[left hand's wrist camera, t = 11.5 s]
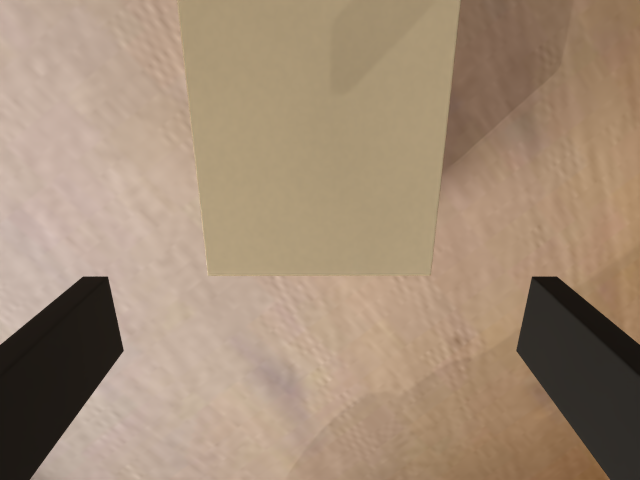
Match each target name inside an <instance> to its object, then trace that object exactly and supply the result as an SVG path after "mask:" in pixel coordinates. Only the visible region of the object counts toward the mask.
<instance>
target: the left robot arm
mask: <svg viewBox="0 0 640 480" xmlns="http://www.w3.org/2000/svg"><path fill="white" fill-rule="evenodd" d="M123 351H124V350H123V345H122V341H121V336H120V331H119V327H118V322H117V317H116V313H115V308H114V303H113V298H112V294H111V289H110V284H109V280H108V277H82V278H81V279H80V280H78V281H77V282H76V283H75V284H74V285H72V286H71V287H70V288H69V289H68V290H66V291H65V292H64V293H63V294H61V295H60V296H59V297H58V298H57V299H55V300H54V301H53V302H52V303H51V304H49V305H48V306H47V307H46V308H45V309H43V310H42V311H41V312H40V313H38V314H37V315H36V316H35V317H34V318H32V319H31V320H30V321H29V322H28V323H26V324H25V325H24V326H23V327H21V328H20V329H19V330H18V331H17V332H15V333H14V334H13V335H12V336H11V337H9V338H8V339H7V340H6V341H4V342H3V343H2V344H1V345H0V480H30V479H31V477H32V476H33V474H34V473H35V472H36V470H37V469H38V468H39V466H40V465H41V463H42V462H43V461H44V459H45V458H46V457H47V455H48V454H49V452H50V451H51V450H52V448H53V447H54V446H55V444H56V443H57V441H58V440H59V439H60V437H61V436H62V435H63V433H64V432H65V430H66V429H67V428H68V426H69V425H70V424H71V422H72V421H73V420H74V418H75V417H76V415H77V414H78V413H79V411H80V410H81V409H82V407H83V406H84V404H85V403H86V402H87V400H88V399H89V398H90V396H91V395H92V393H93V392H94V391H95V389H96V388H97V387H98V385H99V384H100V382H101V381H102V380H103V378H104V377H105V376H106V374H107V373H108V372H109V370H110V369H111V367H112V366H113V365H114V363H115V362H116V361H117V359H118V358H119V356H120V355H121V354H122V352H123ZM516 351H517V352H518V354H519V355H520V356H521V358H522V359H523V361H524V362H525V363H526V365H527V366H528V367H529V369H530V370H531V372H532V373H533V374H534V376H535V377H536V378H537V380H538V381H539V382H540V384H541V385H542V387H543V388H544V389H545V391H546V392H547V393H548V395H549V396H550V398H551V399H552V400H553V402H554V403H555V404H556V406H557V407H558V409H559V410H560V411H561V413H562V414H563V415H564V417H565V418H566V420H567V421H568V422H569V424H570V425H571V426H572V428H573V429H574V430H575V432H576V433H577V435H578V436H579V437H580V439H581V440H582V441H583V443H584V444H585V446H586V447H587V448H588V450H589V451H590V452H591V454H592V455H593V457H594V458H595V459H596V461H597V462H598V463H599V465H600V466H601V468H602V469H603V470H604V472H605V473H606V474H607V476H608V477H609V479H610V480H640V345H639V344H638V343H637V342H636V341H634V340H633V339H632V338H631V337H629V336H628V335H627V334H626V333H625V332H623V331H622V330H621V329H620V328H619V327H617V326H616V325H615V324H614V323H612V322H611V321H610V320H609V319H608V318H606V317H605V316H604V315H603V314H602V313H600V312H599V311H598V310H597V309H595V308H594V307H593V306H592V305H591V304H589V303H588V302H587V301H586V300H585V299H583V298H582V297H581V296H580V295H579V294H577V293H576V292H575V291H574V290H572V289H571V288H570V287H569V286H568V285H566V284H565V283H564V282H563V281H562V280H560V279H559V278H558V277H532V280H531V284H530V289H529V294H528V298H527V303H526V308H525V313H524V317H523V322H522V327H521V331H520V336H519V341H518V345H517V350H516Z"/></svg>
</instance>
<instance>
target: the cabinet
mask: <svg viewBox="0 0 640 480" xmlns="http://www.w3.org/2000/svg"><path fill="white" fill-rule="evenodd" d="M177 4H178V13H179V22H180V31H181V40H182V49H183V58H184V66H185V75H186V84H187V93H188V102H189V111H190V120H191V129H192V138H193V147H194V156H195V164H196V173H197V182H198V191H199V200H200V209H201V218H202V227H203V236H204V245H205V253H206V262H207V271H208V276H430V275H431V269H432V259H433V250H434V241H435V232H436V223H437V214H438V205H439V196H440V186H441V177H442V168H443V159H444V150H445V141H446V132H447V123H448V113H449V104H450V95H451V86H452V77H453V68H454V59H455V50H456V40H457V31H458V22H459V13H460V4H461V0H177Z"/></svg>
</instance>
